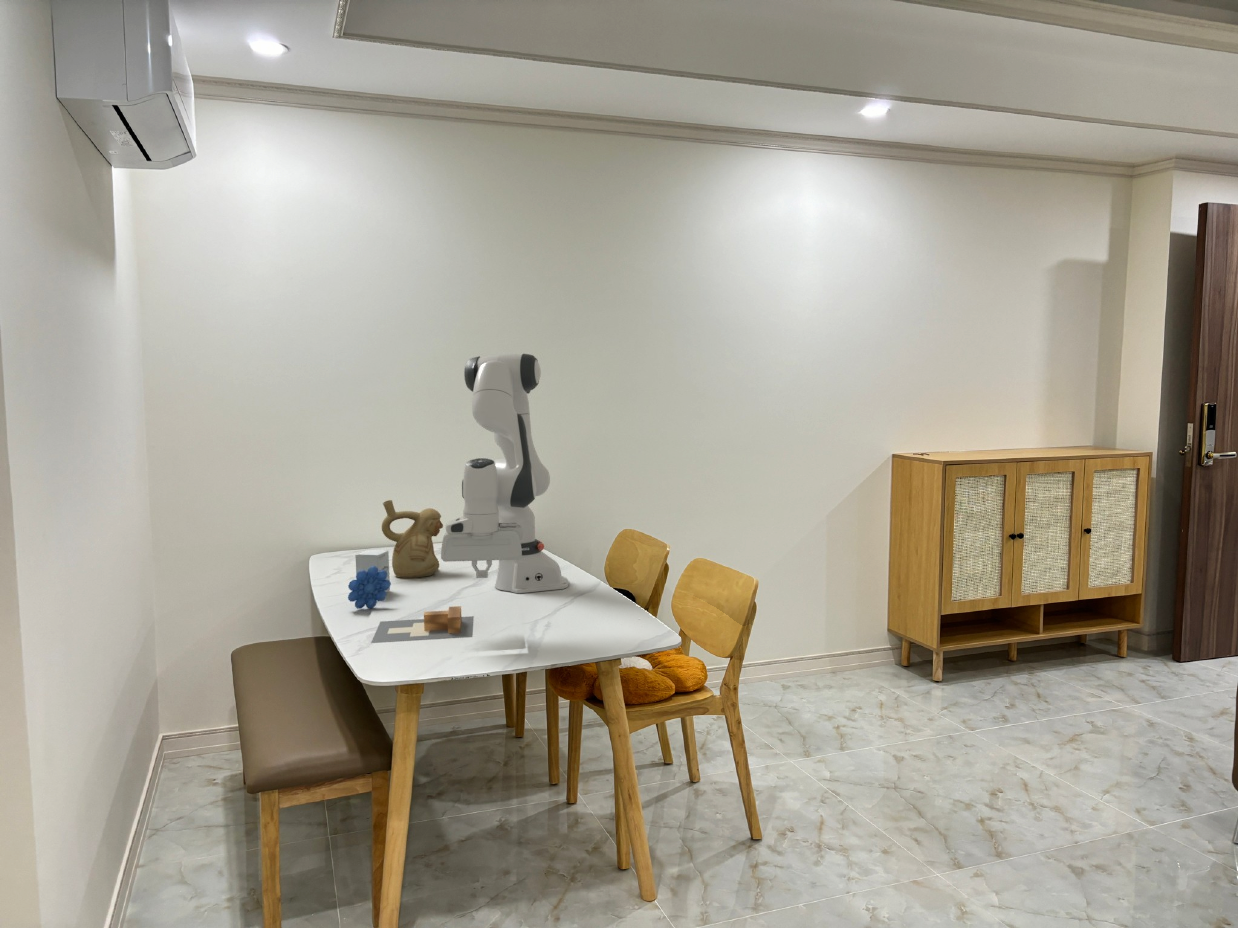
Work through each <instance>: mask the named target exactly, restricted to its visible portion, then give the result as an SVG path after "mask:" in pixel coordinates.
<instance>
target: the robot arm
mask: <svg viewBox="0 0 1238 928" xmlns="http://www.w3.org/2000/svg"><path fill="white" fill-rule="evenodd" d="M541 372H542V371H541V366H540V364H539V360H538V358H537V357H536V356H534V355H533V354H528V353H522V354H520V353H519V354H518V353H500V354H494V355H493V354H492V355H486V356H479V355H478V356H475V357H471V358H469V359H468V360H467V361H466V363H465V365H464V370H463V379H464V382H465V385H466V387H467V389H468V390H469V391H471V392H472V397H471V398H472V399H471V400H472V401H471V408H472V409H471V411H472V416H473V418H474V420H475V422H476V423H477V424H478V425H479V426H480V427H481V428H484V429H485V430H486V431H489V432H491V433H493V438H494V441H495V443H496V445H498V447H499V448H500V450H501V451H502V454H503V456H504V457H503V458H497V459H490V458H484V457H483V458H474V459H473V458H472V459H470V460H468V461H466V463H465V466H464V469H463V470H464V472H463V479H462V481H461V496H462V499H463V501H464V507H463V513H462V514H463V516H461V517H458V518H455V519H452V520H449V521H447V523H446V524H445V530H446V531H445V534H444V536H443V538H442V543H441V548H440V549H441V551H440V560H442V561H443V562H445V563H447V562H448V563H449V562H450V563H451V562H471V566H472V568H473V569H474V570H473V571H475V575H476V576H475V577H476V578H475V579H488V578H489V570H490V569H491V567H492V565H493V561H498V567H497V575H496V576H497V577H496V580H495V584H494V588H495V589H498V590H500V591H505V592H512V593H515V594H524V593H534V592H535V593H536V592H543V591H545V592H546V591H554V590H563V589H567V588H568V587H569V583H570V582H569V579H568V578H567V577H566V576H563V574H562V571H561V567H560V564H559V562H557V561H556V560H555V559H553V558H552V557H550V556H549V555H548V554H546V553H545V552H544V551H543V550H544V549H545V544H544V543H543V542H542V541H541V540H538V539H536V519H535V518H536V516H535V513H534V511H533V510H532V509H531V508H530V506H529V505H530V504H531V503H532V502H534V500H536V497H539V496H542V495H544V494H545V493H546V492H547V490H548V489H549V487H550V482H551V476H550V475H551V474H550V472H549V470H548V469H547V467H546V466H545V465H544V464H543V463H542V461H541V459H540V458H539V455H538V453H537V451H536V447H535V444H534V441H533V437H532V425H531V416H530V415H531V414H530V402H529V397H528V395H529V394H531V391H533V390H534V389H535V388H537V387H538V385H539V383H540V380H541V379H540V378H541V374H542V373H541ZM478 561H485V563H486V565H487V566H486V568H485V569H479V568H478V566H477V565H478Z"/></svg>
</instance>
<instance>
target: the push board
mask: <svg viewBox="0 0 1238 928" xmlns="http://www.w3.org/2000/svg"><path fill="white" fill-rule="evenodd" d="M461 618H462V622H461V632H460V633H448V629H444V630H427V631H424V618H420V619H419V618H418V619H400V620H399V619H398V620H384V621H383V620H382V621H379V624H378V626H377V628H376V630H375V633H374V636H373V638H372V640H371V641H370V642H371V644H377V643H378V644H379V643H395V642H411V641H414V642H415V641H428V640H430V641H431V640H442V639H443V640H445V639H459V638H460V639H461V638H462V639H463V638H473V635H474V634H473V633H474V615H471V616H461Z"/></svg>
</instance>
